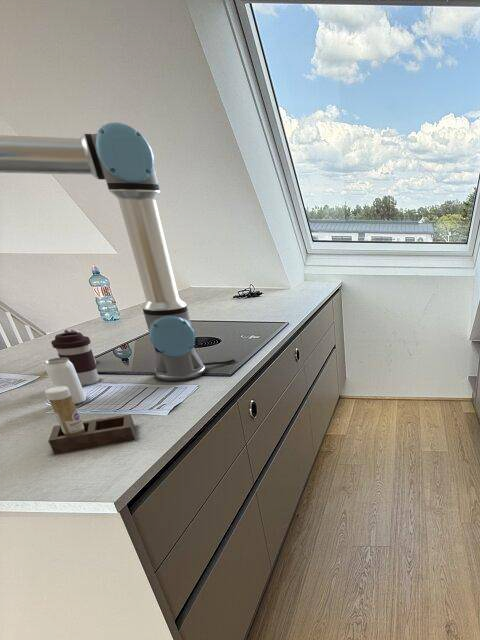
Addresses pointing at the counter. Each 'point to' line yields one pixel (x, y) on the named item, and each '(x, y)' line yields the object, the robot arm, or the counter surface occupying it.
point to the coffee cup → (77, 355)
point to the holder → (94, 434)
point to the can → (65, 377)
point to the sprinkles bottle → (65, 410)
